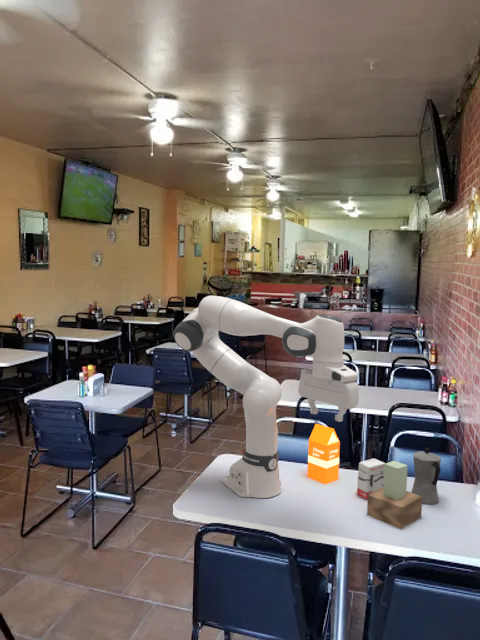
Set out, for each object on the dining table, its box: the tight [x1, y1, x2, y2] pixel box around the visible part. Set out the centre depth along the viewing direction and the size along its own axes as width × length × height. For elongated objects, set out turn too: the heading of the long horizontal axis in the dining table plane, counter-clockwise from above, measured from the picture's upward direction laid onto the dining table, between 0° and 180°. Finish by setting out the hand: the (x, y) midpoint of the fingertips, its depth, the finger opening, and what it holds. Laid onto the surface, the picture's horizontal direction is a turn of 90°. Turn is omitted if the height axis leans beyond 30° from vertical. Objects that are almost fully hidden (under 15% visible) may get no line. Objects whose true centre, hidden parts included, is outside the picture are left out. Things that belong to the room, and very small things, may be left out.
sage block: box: [383, 460, 409, 500], centre depth 160 cm, size 5×5×10 cm
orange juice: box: [307, 423, 341, 485], centre depth 189 cm, size 8×9×20 cm
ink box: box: [356, 458, 386, 501], centre depth 176 cm, size 8×5×12 cm, turn 123°
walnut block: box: [366, 488, 423, 530], centre depth 161 cm, size 12×12×7 cm
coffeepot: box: [411, 447, 442, 506], centre depth 172 cm, size 15×9×18 cm, turn 6°
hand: (326, 417), depth 148 cm, fingers open, 8 cm apart
